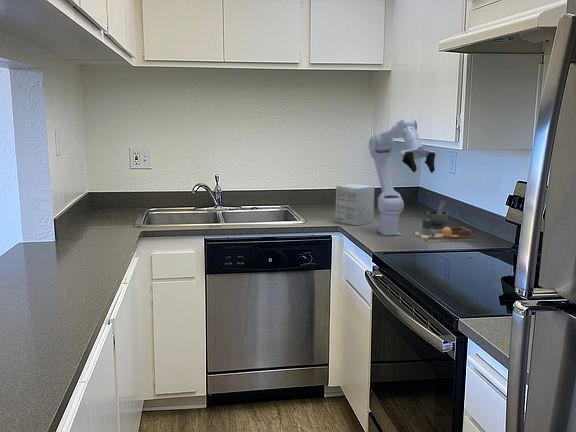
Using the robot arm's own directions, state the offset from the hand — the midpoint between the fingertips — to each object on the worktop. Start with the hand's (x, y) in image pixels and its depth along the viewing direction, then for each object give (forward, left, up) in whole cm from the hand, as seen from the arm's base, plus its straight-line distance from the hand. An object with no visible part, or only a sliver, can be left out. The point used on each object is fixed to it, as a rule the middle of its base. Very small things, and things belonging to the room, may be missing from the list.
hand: (424, 170), depth 219 cm
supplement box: (-54, -11, -30) cm, 63 cm away
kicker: (-18, +11, -29) cm, 36 cm away
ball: (-15, +18, -27) cm, 36 cm away
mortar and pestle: (-38, +24, -30) cm, 55 cm away
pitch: (-17, +17, -30) cm, 39 cm away
